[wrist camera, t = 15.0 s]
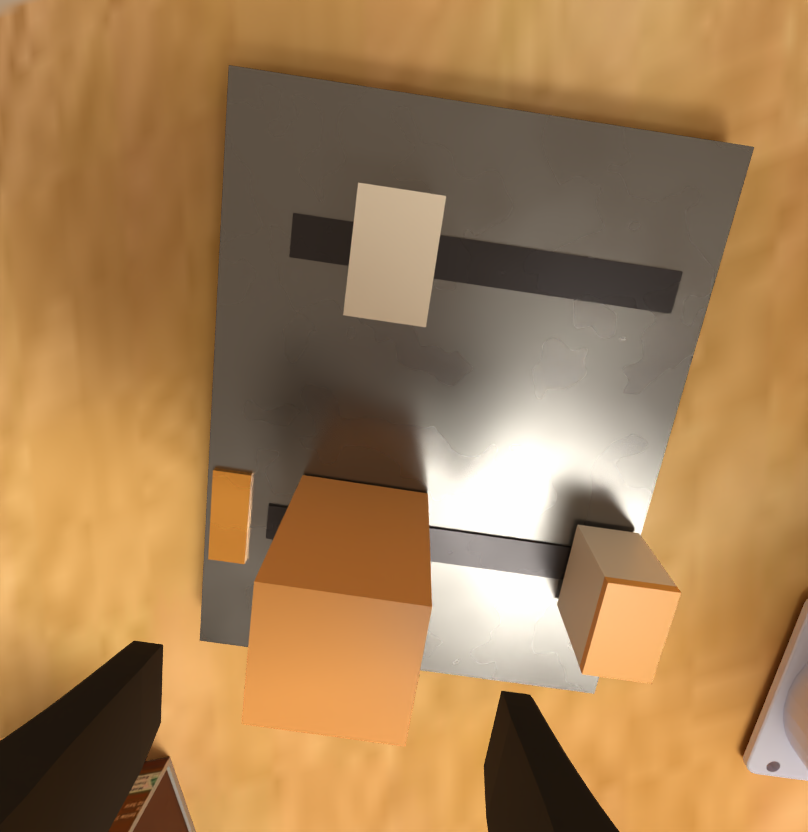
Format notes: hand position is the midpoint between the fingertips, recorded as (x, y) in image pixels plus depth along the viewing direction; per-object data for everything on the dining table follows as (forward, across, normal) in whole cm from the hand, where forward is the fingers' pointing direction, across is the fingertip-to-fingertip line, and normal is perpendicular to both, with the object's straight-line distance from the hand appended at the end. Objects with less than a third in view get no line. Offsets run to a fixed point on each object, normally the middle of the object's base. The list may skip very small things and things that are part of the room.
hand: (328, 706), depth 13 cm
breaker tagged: (+7, -8, 0) cm, 11 cm away
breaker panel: (+9, -2, -4) cm, 10 cm away
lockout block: (+7, 0, 0) cm, 7 cm away
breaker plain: (+7, 0, -9) cm, 12 cm away
